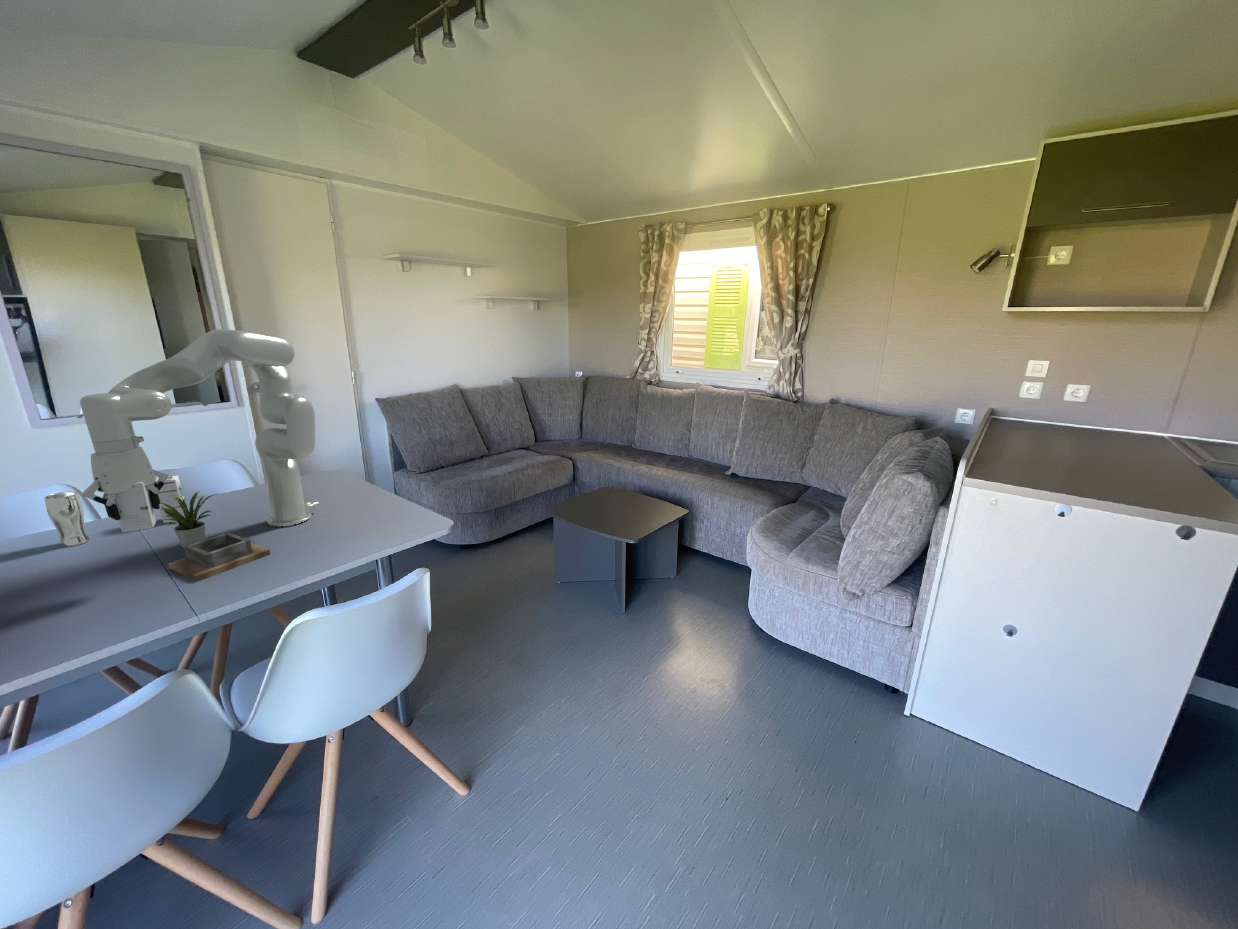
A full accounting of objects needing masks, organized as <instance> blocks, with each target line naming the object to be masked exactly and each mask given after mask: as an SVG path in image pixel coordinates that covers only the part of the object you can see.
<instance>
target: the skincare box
mask: <svg viewBox="0 0 1238 929" xmlns="http://www.w3.org/2000/svg"><path fill="white" fill-rule="evenodd" d="M113 503H114V504H115V505H117V508H118V511H119V515H120V518H121V519H120V520H118V522H119V525H120V529H121V532H122V533H125V532H126V533H127V532H133V531H139V530H145V529H152V528H154V527H155V525H156V523H157V520H156V516H155V512H154V508H153V507H152V503H151V499H150V495H149V491H148V488H147V487H145V486H144V482H138V483H135V484H132V488H131V490H129V491H127V492H123V493H118V494H116V496H115V499H114V502H113Z"/></svg>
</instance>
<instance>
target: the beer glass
mask: <svg viewBox="0 0 1238 929" xmlns="http://www.w3.org/2000/svg"><path fill="white" fill-rule="evenodd" d="M43 498H44V503H45V508H46V512H47V514H48V518H49V519H50V521H51V523H52V525H53V526H54V527H55V529H56V531H57V532H58V537H59V546H60V547H64V548H67V547H68V548H69V547H76V546H81V545H83V544H86V543H88V542H89V541H90V539H91V538H90V536H89V535H88V534H87V531H86V528H85V518H84V516H85V515H84V514H85V513H84V507H83V504H82V501H81V499H80V496H79V493H78V491H61V492H56V493H52V494H48V495H46V496H44V497H43Z"/></svg>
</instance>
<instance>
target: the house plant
mask: <svg viewBox="0 0 1238 929" xmlns="http://www.w3.org/2000/svg"><path fill="white" fill-rule="evenodd" d="M200 491H201V490H197V491H196V492H195V493H194V494H193V495H192V497H191V499H190V500H189V508H188V505H187V503H186V501H184V500H185V498H184V499H183V498H182V497H181V496H180V497H181V498H182V500H183V501H182V500H181V499H180V498H177V497H175V496H172V498H174V499H176V500H177V501H178V502H179V504H180V506H181V508H182V510H183V513H184V516H185V517H184V516H183V515H181V514H180V513H179V512H178V511H177V510H176V509H175V508H173V507H172V506H170V505H167V504H164V503H161V502H160V504H163V505H165V506H167V507H168V508H170V509H171V510H170V509H166V508H165V507H161V508H162V509H163V510H164V512H165V513H166V514H168V515H167V516H165V517H172V518H169V519H164V520H173V521H177V522H172V523H168V526H171V525H176V526H175V527H174V528H173V530H174V533H175V535H176V536H177V538H178V541H179V543H180V545H181V547H182V548H183V550H185V547H184V546H187V545H190V544H193V543H197V542H200V541H203V540H206V522H204V521H200V520H201V519H203V518H206V517H209V516H212V517H213V515H212V514H208V513H210V512H211V513H213V511H212V510H205V511H203V512H201V514H199V516H198V517H197V515H198V512H199V510H200V509H201V508H202V505H203V504H205V502H206V501H207V500H209V498H211V497H213V496H217V495H218V493H215V494H212V495H209V496H207V497H206V496H205V495H203V496H200V497H199V496H198V495H199V493H200ZM205 497H206V498H205ZM198 498H199V500H198V501H197V503H196V505H195V506H194V504H195V501H196V499H198ZM204 498H205V499H204ZM163 518H164V517H163Z"/></svg>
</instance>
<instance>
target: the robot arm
mask: <svg viewBox="0 0 1238 929" xmlns="http://www.w3.org/2000/svg"><path fill="white" fill-rule="evenodd" d="M294 358H295V349H294V348H293V346H292V344H291V343H290V342H289V341H287V340H286V339H284V338H282V337H277V336H272V335H271V336H270V335H265V334H259V333H254V332H250V331H246V330H237V329H214V330H213V329H212V330H209V331H207V332H205V333H204V334H203V335H202V336H200V337H199V338H197V339H196V340H194V341H193V342H191V343H190V344H189V345H188V346H186V347H185V348H183V349H182V350H180V351H179V352H178V353H176V354H174V355H172V356H171V357H169V358H167V359H164V360H161V361H159V362H156V363H154V364H152V365H150V366H147V367H144V368H142V369H141V370H138V371H136V372H134V373H132V374H130V375H129V376H127V377H126V378H124V379H123V380H121V381H120V382H118V383H117V384H116V385H114V386H113V387H112V388H111V389H110V390H109V391H108V392H105V393H93V394H87V395H85V396H83V397H81V398H80V401H79V404H80V408H81V411H82V415H83V417H84V421H85V424H86V428H87V431H88V433H89V437H90V440H91V443H92V447H93V450H94V453H91V454H90V464H91V472H92V479H93V482H92V483H91V484H90V485H89V486H88V487H87V488H86V489H85V490H84V491H83V492H82V493H81V495H82V496H83V497H86V498H87V499H89V500H92V501H93V502H96V503H100V504H102V505H104V508H105V511H106V514H107V517H109V519H110V518H111V519H113V520H114V521H119V520H120V519H121V518H120V515H119V511H118V508H117V505H115V504H114V499H115V496H116V494H118V493H123V492H127V491H129V490H131V488H132V484H135V483H138V482H144V486H145V487H147V488H148V491H149V495H150V499H151V503H152V507H153V510H160V507H159V504H160V499H159V496H158V493H159V492H160V489H161V488H162V487H163V485H164V483H165V482H166V480H167V478H168V477H169V476H170V475H169V474H168V473H164V472H161V471H158V470H155V469H153V467H152V464H151V462H150V459H149V458H148V456H147V453H146V452H145V450H144V448H143V447H142V446H140V443H142V442H145V438H144V437H143V435H142V436H137V435H135V429H134V427H133V423H132V422H136V421H153V420H159V419H161V418H163V417H165V416H167V415H168V414H169V413H170V412H171V410H172V406H173V404H172V401H171V399H170V397H169V396H168V395H167V394H166V392H169V391H172V390H176V389H180V388H186V387H190V386H195V385H196V384H201V383H202V382H204V381H206V380H207V379H208V378H210V377H211V376H213V374H214V373H216V372H217V371H218V370H220V369H221V368H222V367H224V366H225V365H226V364H228V363H229V362H231V361H232V362H233V361H236V362H245V363H246V364H247V365H249V367H251V369H252V370H253V371H254V372H255V373H256V376H257V378H258V386H259V387H258V388H259V412H260V416H261V418H262V420H264V421H265V422H267V423H270V424H276V425H277V424H278V425H286V426H285V427H286V428H281V427H268V428H265V429H264V428H263V430H261V431H259V432H258V433H257V435H256V437H255V448H256V451H257V454H258V456H259V458H260V461H261V464H262V468H263V473H264V480H265V484H266V489H267V490H266V491H267V496H268V500H269V501H268V502H269V507H270V513H271V516H269V517H268V518H267V519H266V521H267V522H266V523H267V524H268V526H271V527H276V526H277V528H280V527H281V526H283V527H291V526H295V525H294V524H296V525H299V523H300V524H302V523H301V522H303V523H305V522H307V521H309V520H310V519H312V512H311V510H312V509H315V508H318V507H320V503H319V501H313V502H310V501H308V502H305V500H304V494H303V488H302V487H303V486H302V481H301V474H300V473H301V472H300V468H299V465H298V462H297V461H302V460H306V459H308V458H310V456H312V454H313V452H314V450H315V445H316V417H315V416H316V414H315V410H314V406H313V404H312V403H311V402H310V400H308V399H307V398H305V397H304V396H301V395H293V389H292V380H291V376H290V375H291V374H290V373H289V371H288V370H287V368H286V367H287V366H289V365H290V364H291V363H292V362H293V360H294ZM156 477H157V478H158V480H157V481H156ZM155 481H156V482H155ZM153 484H154V485H153ZM95 492H100V493H103V495H102V496H101V497H100V496H98V495H96V494H95ZM308 519H309V520H308ZM306 520H307V521H306ZM304 521H305V522H304Z"/></svg>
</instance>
